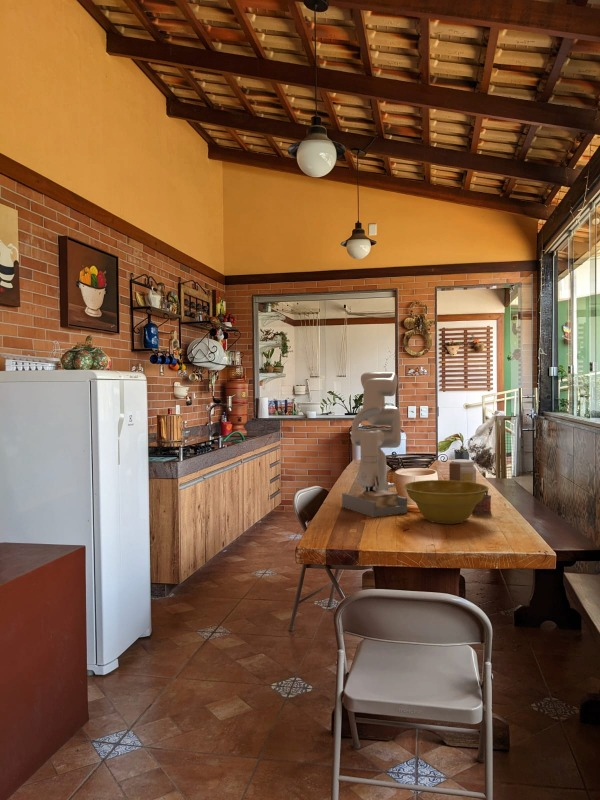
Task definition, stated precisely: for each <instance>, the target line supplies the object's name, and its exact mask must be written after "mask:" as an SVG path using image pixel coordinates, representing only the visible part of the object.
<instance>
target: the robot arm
mask: <svg viewBox="0 0 600 800" xmlns="http://www.w3.org/2000/svg"><path fill="white" fill-rule="evenodd" d="M360 384H361V386H362V389H363V398H362V409H360V410H359V411H358V412H357V414H355V416H354V418H353V421H352V423H351V435H350V437H351V438H350V440H351V443H352V444H353V445H354V446H355V447H357V446H358V447H360V448H359V449H360V450H359V451H360V454H359V455H360V456H359V458H360V462H359V466H358V477H357V479H358V484H359V486H361V487H362V488H363V492H370V491H375V490H377V491H378V490H387V491H391V490H390V489H389V488H395V483H394V482H391V483H390V482H387V456H386V453H385V452H384V451H383V450H382V449H387V448H389V449H395V448H399V447H400V446H401V442H402V431H401V429H402V427H401V424H402V423H401V421H402V420H401V411H400V409H399V408H398V407H396V406H391V405H390V406H386V404H385V403H386V397H393V396H395V395H396V392H397V385H398V376H397V374H396V373H395V372H394V371H376V372H374V371H371V372H364V373H362V374H361V376H360ZM365 420H367V421H368V424H369V425H371V426H378V427H379V428H377V427H373V428H359V426H360V425H361V423H362V422H364V421H365ZM380 426H381V427H382V426H383V428H381V427H380ZM384 427H391V428H384Z"/></svg>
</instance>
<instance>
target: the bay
mask: <svg viewBox="0 0 600 800" xmlns="http://www.w3.org/2000/svg"><path fill="white" fill-rule="evenodd" d="M375 491H377V490H375ZM341 501H342V502H341V504H342V505H341V507H342V508H344V507H345V509H347V510H350V509H351V511H353V512H356V511H357V512H356V513H359V512H360V513H359V514H362V513H363V515H365V514H366V515H365V516H368V515H369V516H368V517H371V516H373V517H372V518H376V517H375V516H380V517H384V516H383V515H387V516H390V515H389V514H394V515H399V513H401V514H407V513H408V498H407V497H405V496H404V497H403V496H400V495H398V506H394V507H386V508H379V509H376V502H373V501H370V500H367V499H363V497H361V496H356V495H352V494H348V493H345V492H343V493H341Z"/></svg>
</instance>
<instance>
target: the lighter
mask: <svg viewBox="0 0 600 800" xmlns="http://www.w3.org/2000/svg"><path fill="white" fill-rule="evenodd" d="M491 498H492V495H491V494H489V489H488V490H487V491H486V492H485V495H484V497H483V499H482V500H481V501H480V502H478V503H477V504H476V505H475V508H474V510H473V511H472V513H471V514H479V515H492V510H491V509H492V506H491V505H492V502H491V501H492V499H491Z"/></svg>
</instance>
